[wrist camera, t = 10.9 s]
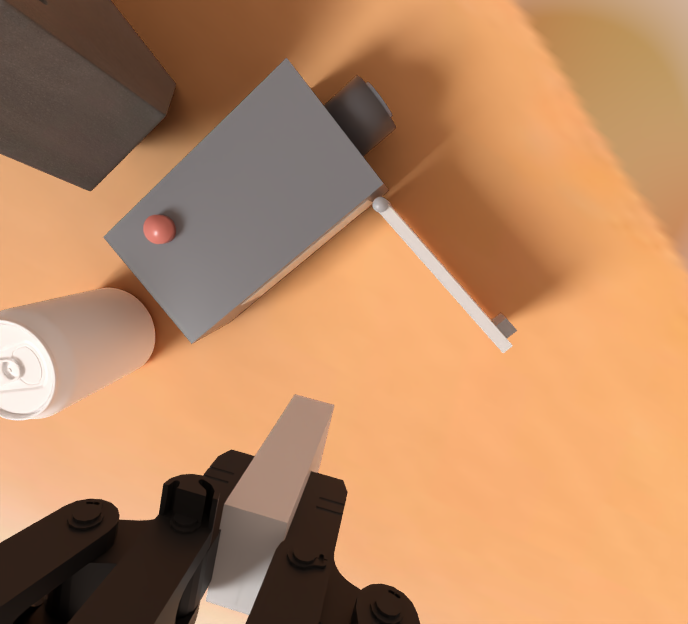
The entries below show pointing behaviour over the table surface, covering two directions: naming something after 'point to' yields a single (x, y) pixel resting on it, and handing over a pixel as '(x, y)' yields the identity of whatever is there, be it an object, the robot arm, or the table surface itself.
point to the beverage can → (69, 349)
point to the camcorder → (254, 199)
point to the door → (447, 278)
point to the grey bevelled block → (75, 87)
